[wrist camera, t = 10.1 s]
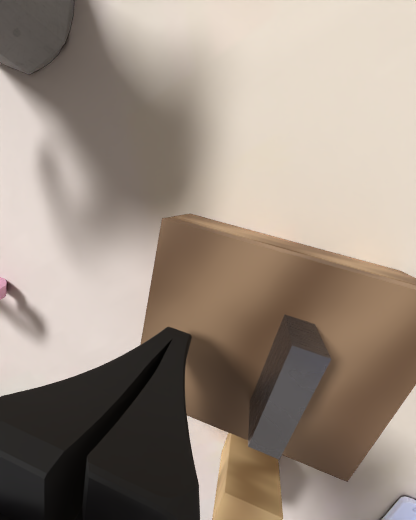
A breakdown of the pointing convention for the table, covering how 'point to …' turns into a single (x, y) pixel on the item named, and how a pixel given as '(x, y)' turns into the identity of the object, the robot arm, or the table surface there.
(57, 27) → the coffeepot
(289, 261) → the lid
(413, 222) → the table surface
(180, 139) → the table surface
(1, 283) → the decorative key
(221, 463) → the wooden block
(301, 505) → the table surface
